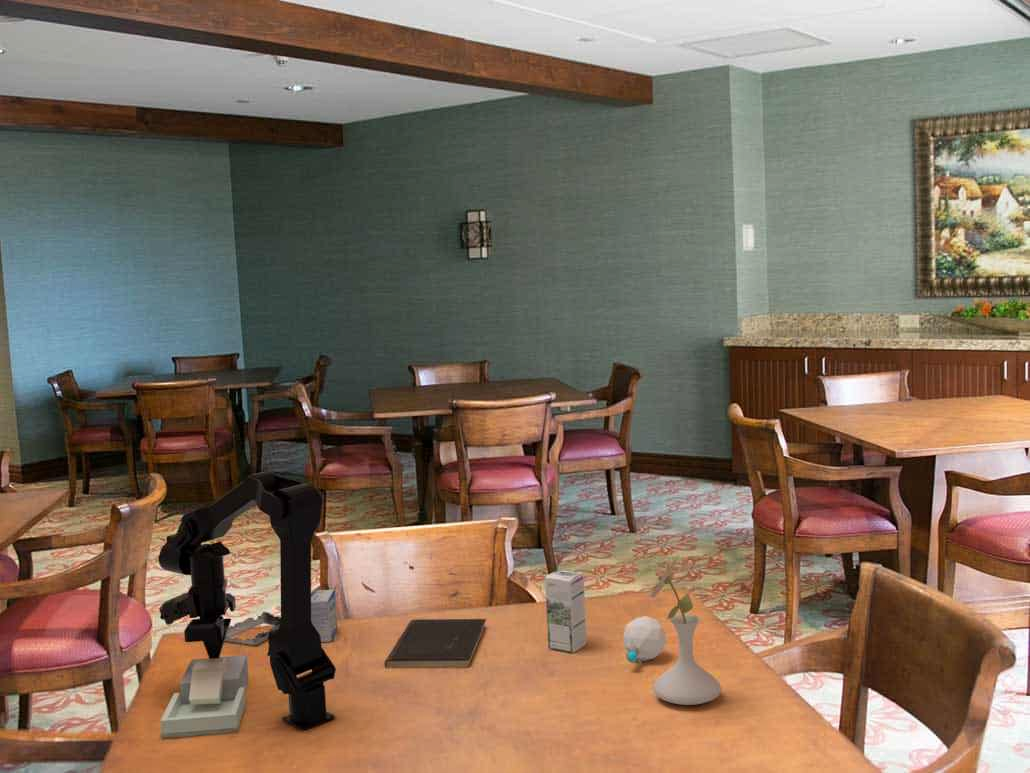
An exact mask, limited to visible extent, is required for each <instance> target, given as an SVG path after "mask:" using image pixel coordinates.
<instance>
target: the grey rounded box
mask: <svg viewBox="0 0 1030 773" xmlns="http://www.w3.org/2000/svg"><path fill="white" fill-rule="evenodd" d="M219 658H226V661H227V669H226V672H225V674H224V678H223V687H222V696H221V701H232V700H235V698H236V695H237V692H238V689H239V688H241V687H245V689H246V688H247V685H248V682H249V666H248V655H247V654H245V655H242V654H241V655H232V656H221V657H219ZM198 659H199V658H195V659H193V658H192V659H190V662H189V664H188V666H187V667H186V670H185V672H184V674H183V676H182V678H181V680H180V682H179V693H180V700H181V705H185V704H190V701H189V694H190V687H191V679H192V669H193V667H194V665H195V663H196V662H197V660H198ZM204 659H209V657H207V658H206V657H205V658H204Z"/></svg>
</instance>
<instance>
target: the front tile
mask: <svg viewBox="0 0 1030 773" xmlns="http://www.w3.org/2000/svg"><path fill="white" fill-rule="evenodd" d="M223 678H224V676H223V673H222V671H211V672H192V679H191V687H190V694H189V701H190V704H191V705H194V704H218V703H221V696H222V687H223Z"/></svg>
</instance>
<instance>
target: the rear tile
mask: <svg viewBox="0 0 1030 773" xmlns="http://www.w3.org/2000/svg"><path fill="white" fill-rule="evenodd" d="M197 659H198V660H197V662H196V663H195V665H194V667H193V669H192V672H211V671H222V673H223V676H224V674H225V672H226V669H227V661H226V658H213V659H205V658H197Z"/></svg>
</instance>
